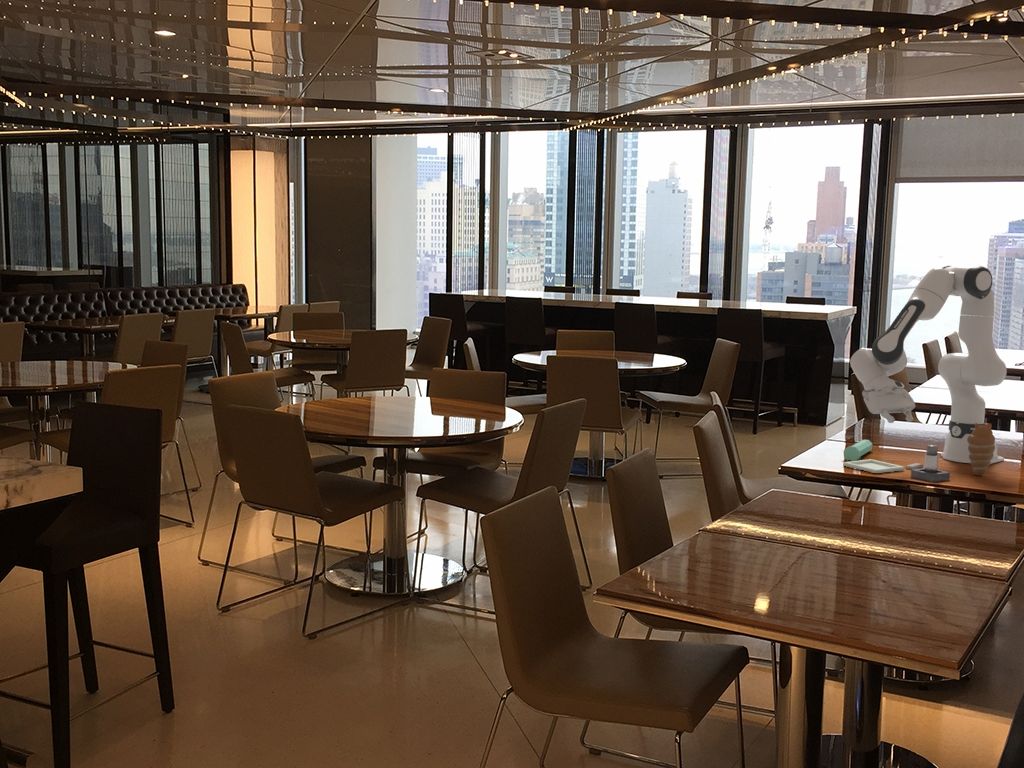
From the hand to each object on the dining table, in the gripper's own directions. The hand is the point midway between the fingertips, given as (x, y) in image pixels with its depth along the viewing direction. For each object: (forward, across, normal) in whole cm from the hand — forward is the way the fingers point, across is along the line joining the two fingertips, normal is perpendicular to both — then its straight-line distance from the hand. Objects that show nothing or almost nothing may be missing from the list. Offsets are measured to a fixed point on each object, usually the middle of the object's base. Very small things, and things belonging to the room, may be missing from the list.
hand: (901, 421), depth 329 cm
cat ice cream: (+24, +20, 0) cm, 31 cm away
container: (-6, +11, +31) cm, 33 cm away
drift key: (+11, +11, +14) cm, 21 cm away
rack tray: (+8, -4, +17) cm, 19 cm away
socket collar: (+21, 0, +3) cm, 21 cm away
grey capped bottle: (+21, 0, +3) cm, 21 cm away
